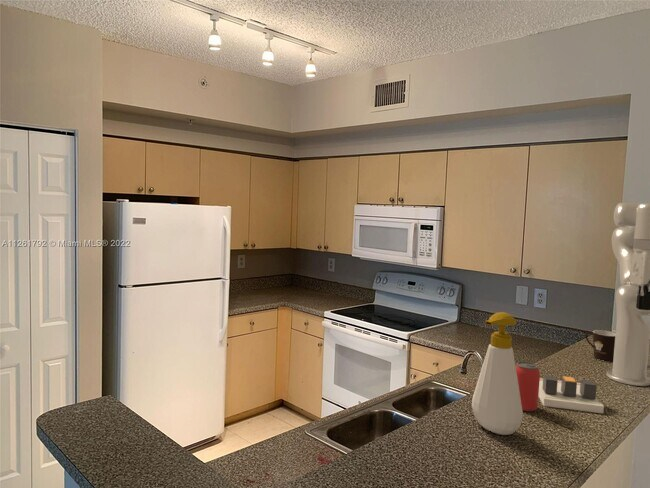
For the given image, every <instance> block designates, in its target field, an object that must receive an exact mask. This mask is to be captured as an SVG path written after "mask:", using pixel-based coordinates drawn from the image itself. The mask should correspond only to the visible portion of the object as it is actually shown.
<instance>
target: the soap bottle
mask: <svg viewBox="0 0 650 488" xmlns="http://www.w3.org/2000/svg"><path fill="white" fill-rule="evenodd" d="M484 325H487V326H492V327H494V326H498V331H494V332H493V333H491V336H490V344H488V347H487V350H486V354H485V357H484V360H483V363H482V366H481V368H480V373H479V376H478V379H477V382H476V386H475V388H474V392H473V395H472V398H471V399H472V400H471V408H472V412H473V414H474V417H475V419H476V421H477V422H478V425H480V426H481V427H483V428H484V429H485V430H487V431H489V432H490V431H491V433H493V434H496V435H499V436H500V435H501V436H507V435H512V434H514V433H515V432H516V431H517V430H518V429H519V428H520V425H521V423H522V422H523V415H524V414H523V413H524V411H522V405H521V398H520V392H519V386H518V379H517V373H516V362H515V356H514V355H515V354H514V349H513V347H512V341H513V337H512V336H511V334H510V333H509V332H507V331H506V326H515V325H517V320H516V318H515V317H513V315H511V314H509V313H508V312H504V311H500V312H495V313H494V314H492V315H491V316H490V317H489V318H488V319H487V320H484Z"/></svg>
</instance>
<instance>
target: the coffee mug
mask: <svg viewBox="0 0 650 488" xmlns="http://www.w3.org/2000/svg"><path fill="white" fill-rule="evenodd" d="M589 334H590V335H592V339H593V340H592V342H593V343H592V342H590V341H589V339H588V335H589ZM584 335H585V336H584V337H585V339H586V342H587V344H589V345H590V346H591V347H592V348H593V358H594V357H595V358H597V359H600V360H604V361H603V362H605V361H613V358H614V347H615V335H616V332H614V331H608V330H600V329H599V330H598V329H597V330H593V331H588V332H586V333H585V334H584ZM595 358H594V359H595ZM597 359H596V360H597ZM600 360H599V361H600Z"/></svg>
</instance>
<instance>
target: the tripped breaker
mask: <svg viewBox="0 0 650 488" xmlns="http://www.w3.org/2000/svg"><path fill="white" fill-rule="evenodd" d="M561 381H562V383H561V391H562V393H563V394H564V395H565V396H573V397H576V389H577V383H578V382H577V380H575V378H574V377H571V376H562V377H561Z"/></svg>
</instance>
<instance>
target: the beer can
mask: <svg viewBox="0 0 650 488" xmlns="http://www.w3.org/2000/svg"><path fill="white" fill-rule="evenodd" d="M515 366H516V373H517V379H518V386H519V392H520V398H521V405H522V411H523V412H536V411H537V409H538V405H539V396H538V395H539V382H540V378H541V373H540V370H539V365H538V364H536V363H533V362H528V361H517V362H516V364H515Z"/></svg>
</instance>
